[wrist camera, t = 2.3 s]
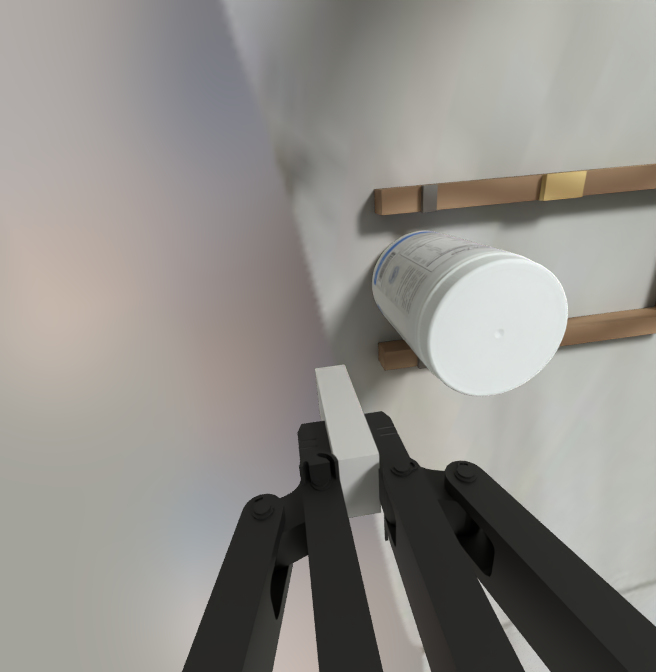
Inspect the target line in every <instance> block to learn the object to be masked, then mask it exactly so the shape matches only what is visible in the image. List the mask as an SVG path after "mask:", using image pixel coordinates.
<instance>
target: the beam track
mask: <svg viewBox="0 0 656 672" xmlns="http://www.w3.org/2000/svg"><path fill="white" fill-rule="evenodd" d="M645 189H656V164H647V165H636V166H625V167H614V168H603V169H592V170H581V171H570V172H559V173H548V174H537V175H526V176H515V177H504V178H493V179H482V180H471V181H460V182H449V183H438V184H427V185H416V186H405V187H394V188H383V189H374V197H375V213H377V214H380V215H389V214H400V213H410V212H420V211H421V212H433V211H437V210H441V209H451V208H461V207H471V206H482V205H492V204H502V203H512V202H522V201H533V200H539V201H547V200H557V199H567V198H577V197H582V196H584V195H594V194H604V193H615V192H625V191H635V190H645ZM653 333H656V303H655V307H650V308H642V309H634V310H627V311H619V312H611V313H604V314H596V315H588V316H581V317H573V318H568V319H567V326H566V330H565V333H564V336H563V339H562V341H561V343H560V345H559V346H566V345H573V344H580V343H588V342H595V341H602V340H609V339H617V338H624V337H631V336H638V335H646V334H653ZM378 352H379V361H380V363H381V365H382V366H383V368H384V370H392V369H399V368H406V367H413V366H417V367H418V368H419V369H421V368H427V367H426V366H425V364H424V363H423V362H422V361H421V360H420V359H419V357H418V356H417V355H416V354H415V353H414V351H413V350H412V349H411V348H410V346H409V345H408V344H407V343H406V342H405V340H397V341H389V342H381V343H378Z"/></svg>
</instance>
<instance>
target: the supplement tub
mask: <svg viewBox="0 0 656 672" xmlns="http://www.w3.org/2000/svg"><path fill="white" fill-rule="evenodd" d="M372 291H373V296H374V299H375V302H376V304H377V306H378V308H379V309H380V311H381V312H382V314H383V315H384V316H385V317H386V319H387V320H388V321H389V322H390V323H391V325H392V326H393V327H394V328H395V329H396V331H397V332H398V333H399V334H400V335H401V337H402V338H403V339H404V340H405V342H406V343H407V344H408V345H409V346H410V348H411V349H412V350H413V351H414V353H415V354H416V355H417V356H418V357H419V359H420V360H421V361H422V362H423V363H424V364H425V366H426V367H427V368H428V369H429V370H430V371H431V372H432V373H433V374H434V375H435V376H436V377H437V378H439V379H440V380H441V381H442V382H443V383H444V384H445V385H447V386H448V387H450V388H451V389H453V390H455V391H457V392H460V393H462V394H466V395H471V396H492V395H497V394H501V393H505V392H508V391H510V390H513V389H515V388H517V387H519V386H521V385H522V384H524V383H526V382H527V381H529V380H530V379H531V378H533V377H534V376H535V375H536V374H538V373H539V372H540V371H541V370H542V369H543V368H544V367H545V366H546V365H547V363H548V362H549V361H550V360H551V358H552V357H553V356H554V354H555V353H556V351H557V349H558V347H559V345H560V343H561V341H562V339H563V336H564V333H565V330H566V326H567V319H568V305H567V298H566V295H565V292H564V289H563V287H562V285H561V284H560V282H559V280H558V279H557V278H556V277H555V275H554V274H553V273H552V272H550V271H549V270H548V269H547V268H545V267H544V266H542V265H540V264H538V263H536V262H533V261H531V260H530V259H528V258H526V257H523V256H521V255H518V254H514V253H511V252H508V251H504V250H501V249H498V248H494V247H490V246H486V245H483V244H479V243H476V242H472V241H468V240H464V239H461V238H457V237H453V236H450V235H446V234H442V233H438V232H434V231H416V232H412V233H409V234H406V235H404V236H402V237H400V238H398V239H397V240H395V241H394V242H393V243H392V244H390V245H389V246H388V247H387V248H386V250H385V251H384V252H383V253H382V255H381V256H380V258H379V260H378V261H377V264H376V266H375V269H374V272H373V278H372Z"/></svg>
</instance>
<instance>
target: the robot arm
mask: <svg viewBox="0 0 656 672" xmlns="http://www.w3.org/2000/svg"><path fill="white" fill-rule="evenodd" d="M315 373H316V384H317V393H318V402H319V412H320V418H321V421H320V422H313V423H306V424H301V426H300V428H299V431H298V442H299V453H300V465H299V469H300V477H301V481H300V484H299V486H298V487H297V488H296V489H295V490H294V491H293V492H292V493H290V494H288V495H286V496H284V497H282V498H278V497H277V496H276V495H272V494H262V495H259V496H256V497H254V498H252V499H251V500H250V501H249V502H248V503H247V504H246V505H245V507H244V509H243V511H242V513H241V516H240V519H239V521H238V524H237V527H236V529H235V532H234V535H233V537H232V540H231V543H230V546H229V548H228V551H227V553H226V556H225V559H224V561H223V564H222V567H221V569H220V572H219V575H218V577H217V580H216V583H215V585H214V588H213V591H212V593H211V596H210V599H209V601H208V604H207V607H206V609H205V612H204V615H203V617H202V620H201V623H200V625H199V628H198V631H197V633H196V636H195V639H194V641H193V644H192V647H191V649H190V652H189V655H188V657H187V660H186V663H185V665H184V668H183V671H182V672H272V671H273V665H274V660H275V655H276V650H277V644H278V639H279V634H280V628H281V624H282V619H283V613H284V608H285V603H286V598H287V593H288V588H289V582H290V577H291V572H292V567H293V563H294V562H296V561H298V560H299V559H301V558H303V557H305V556H307V555H308V557H309V567H310V577H311V589H312V599H313V610H314V621H315V631H316V641H317V652H318V662H319V672H383V669H382V664H381V660H380V655H379V651H378V647H377V642H376V638H375V633H374V629H373V624H372V620H371V615H370V611H369V607H368V602H367V598H366V594H365V589H364V584H363V581H362V576H361V571H360V566H359V562H358V558H357V553H356V549H355V545H354V540H353V536H352V531H351V527H350V522H349V518H352V517H357V516H363V515H369V514H375V513H380V512H381V506H382V509H383V512H384V529H385V541H387V540H388V537H389V540H390V544H391V547H392V550H393V553H394V556H395V559H396V562H397V565H398V569H399V572H400V575H401V578H402V581H403V584H404V587H405V591H406V594H407V597H408V600H409V603H410V606H411V609H412V613H413V616H414V619H415V622H416V625H417V628H418V631H419V635H420V638H421V641H422V644H423V647H424V650H425V653H426V657H427V660H428V663H429V666H430V669H431V672H525V671H524V669H523V667H522V665H521V663H520V661H519V659H518V657H517V655H516V653H515V651H514V649H513V647H512V645H511V643H510V641H509V639H508V637H507V635H506V633H505V632H504V630H503V628H502V626H501V624H500V622H499V620H498V618H497V616H496V614H495V612H494V610H493V608H492V606H491V604H490V602H489V600H488V598H487V596H486V594H485V592H484V590H483V588H482V586H481V584H480V583H479V581H478V579H479V580H480V582H481V583H482V584H483V586H484V587H485V588H486V589H487V591H488V592H489V593H490V595H491V596H492V597H493V598H494V600H495V601H496V602H497V604H498V605H499V606H500V607H501V609H502V610H503V611H504V613H505V614H506V615H507V616H508V618H509V619H510V620H511V622H512V623H513V624H514V625H515V627H516V628H517V629H518V630H519V632H520V633H521V634H522V636H523V637H524V638H525V639H526V641H527V642H528V643H529V645H530V646H531V647H532V648H533V650H534V651H535V652H536V654H537V655H538V656H539V657H540V659H541V660H542V661H543V663H544V664H545V665H546V666H547V668H548V669H549V670H550V671H551V672H656V627H655V626H654V625H653V624H652V623H651V622H650V621H649V620H648V619H647V618H646V617H644V616H643V615H642V614H641V613H640V612H639V611H638V610H637V609H636V608H635V607H633V606H632V605H631V604H630V603H629V602H628V601H627V600H626V599H625V598H624V597H622V596H621V595H620V594H619V593H618V592H617V591H616V590H615V589H614V588H612V587H611V586H610V585H609V584H608V583H607V582H606V581H605V580H604V579H603V578H601V577H600V576H599V575H598V574H597V573H596V572H595V571H594V570H593V569H592V568H590V567H589V566H588V565H587V564H586V563H585V562H584V561H583V560H582V559H581V558H579V557H578V556H577V555H576V554H575V553H574V552H573V551H572V550H571V549H569V548H568V547H567V546H566V545H565V544H564V543H563V542H562V541H561V540H560V539H558V538H557V537H556V536H555V535H554V534H553V533H552V532H551V531H550V530H549V529H547V528H546V527H545V526H544V525H543V524H542V523H541V522H540V521H539V520H538V519H536V518H535V517H534V516H533V515H532V514H531V513H530V512H529V511H528V510H526V509H525V508H524V507H523V506H522V505H521V504H520V503H519V502H518V501H517V500H515V499H514V498H513V497H512V496H511V495H510V494H509V493H508V492H507V491H506V490H504V489H503V488H502V487H501V486H500V485H499V484H498V483H497V482H496V481H494V480H493V479H492V478H491V477H490V476H489V475H488V474H487V473H486V472H485V471H483V470H482V469H481V468H480V467H478V466H477V465H475V464H473V463H470V462H467V461H455V462H452V463H450V464H449V465H447V467H446V469H445V471H439V470H430V469H425V468H423V467H420V465H419V464H418V463H417V462H416V461H415V460H413V459H411V458H410V457H409V455H408V453H407V451H406V449H405V447H404V445H403V443H402V441H401V439H400V437H399V435H398V433H397V430H396V428H395V427H394V424H393V422H392V420H391V418H390V417H389V416H387V415H386V414H385V413H384V412H382V411H380V412H374V413H367V414H364V413H363V411H362V408H361V406H360V403H359V400H358V398H357V395H356V393H355V390H354V388H353V385H352V382H351V380H350V377H349V375H348V372H347V369H346V367H345V364H344V365H336V366H329V367H322V368H315ZM477 578H478V579H477Z"/></svg>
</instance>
